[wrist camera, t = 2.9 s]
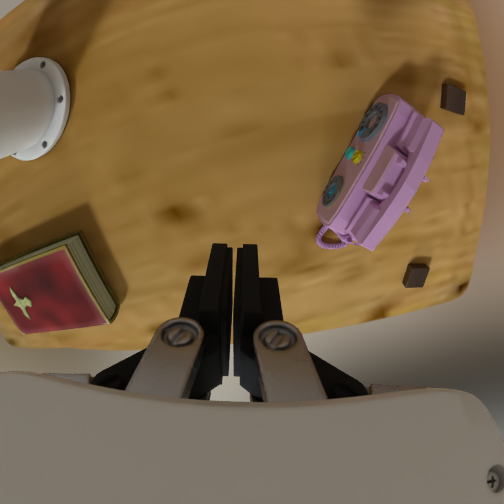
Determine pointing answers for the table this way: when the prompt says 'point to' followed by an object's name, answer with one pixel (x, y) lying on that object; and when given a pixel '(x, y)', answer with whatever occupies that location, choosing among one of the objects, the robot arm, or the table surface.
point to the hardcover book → (56, 288)
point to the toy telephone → (378, 173)
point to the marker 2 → (453, 99)
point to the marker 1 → (415, 275)
